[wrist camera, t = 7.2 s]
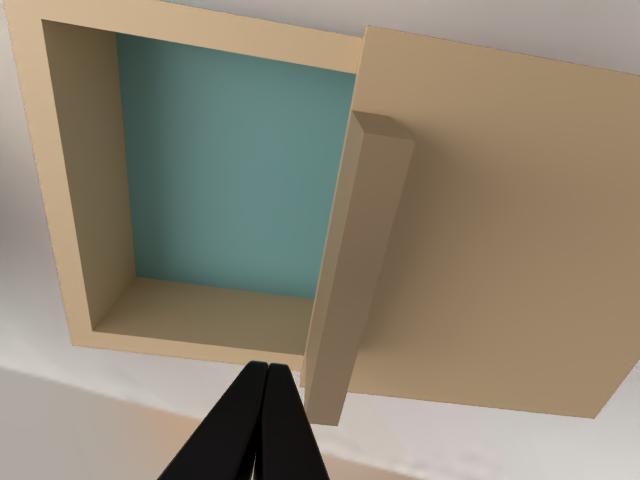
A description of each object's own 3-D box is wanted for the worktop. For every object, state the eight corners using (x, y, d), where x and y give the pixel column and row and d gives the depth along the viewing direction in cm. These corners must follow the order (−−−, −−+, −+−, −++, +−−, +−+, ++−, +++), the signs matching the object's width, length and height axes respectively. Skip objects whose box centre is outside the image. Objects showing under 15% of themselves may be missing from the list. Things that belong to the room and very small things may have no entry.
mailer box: (124, 283, 21) (71, 345, 17) (94, -5, 15) (-3, -29, 10) (363, 313, 22) (374, 379, 18) (431, 56, 16) (475, 58, 11)
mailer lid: (300, 376, 17) (295, 462, 14) (365, 26, 11) (388, 14, 7) (586, 408, 19) (651, 495, 15) (804, 107, 12) (1017, 132, 8)
